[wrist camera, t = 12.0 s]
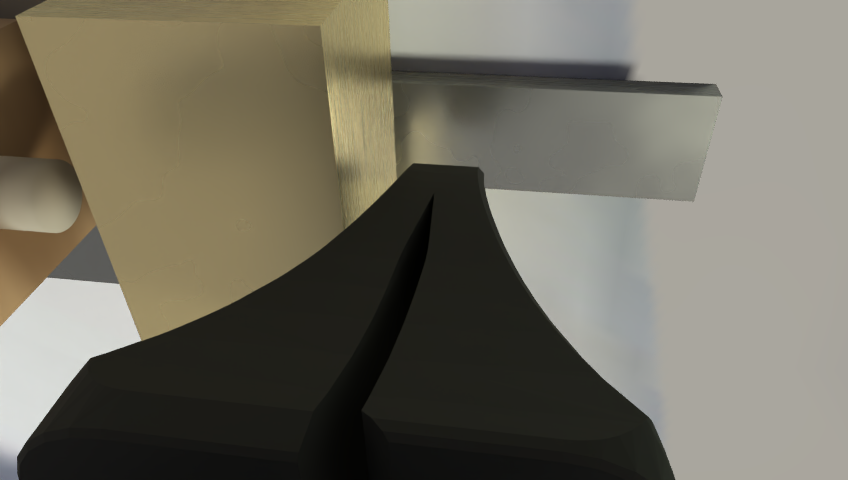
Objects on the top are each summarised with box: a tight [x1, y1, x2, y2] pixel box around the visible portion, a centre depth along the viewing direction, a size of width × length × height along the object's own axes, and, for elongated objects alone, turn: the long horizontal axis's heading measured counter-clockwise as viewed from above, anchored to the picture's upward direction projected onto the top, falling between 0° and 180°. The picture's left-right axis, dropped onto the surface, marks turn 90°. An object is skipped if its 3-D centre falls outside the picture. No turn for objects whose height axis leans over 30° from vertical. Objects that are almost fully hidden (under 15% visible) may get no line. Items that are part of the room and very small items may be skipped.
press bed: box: [0, 0, 722, 284], centre depth 14 cm, size 9×22×3 cm, turn 91°
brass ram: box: [15, 0, 397, 341], centre depth 12 cm, size 8×4×4 cm, turn 1°
